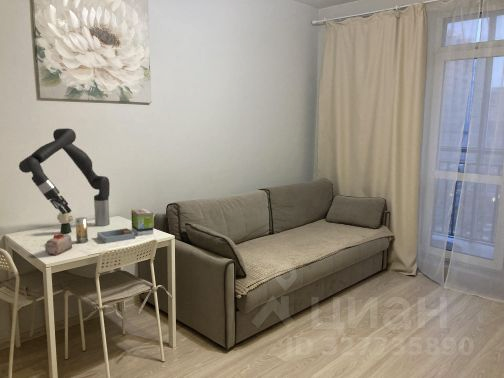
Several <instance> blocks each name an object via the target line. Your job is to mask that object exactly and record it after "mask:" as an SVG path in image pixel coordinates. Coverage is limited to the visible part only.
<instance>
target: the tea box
mask: <svg viewBox="0 0 504 378" xmlns="http://www.w3.org/2000/svg"><path fill="white" fill-rule="evenodd" d="M130 213H131V214H130V215H131V231H132V232H134V233H135V236H136V235H137V237H143V236H151V235H154V212H152V211H151V210H149V209H148V208H146V207H145V208H138V209H137V208H134V209H131V212H130Z"/></svg>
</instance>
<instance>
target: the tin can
mask: <svg viewBox="0 0 504 378" xmlns="http://www.w3.org/2000/svg"><path fill="white" fill-rule="evenodd" d="M75 238H76V243H77V244H86V243H88V242H89V240H88V238H89V237H88V220H87V217H77V218H76V217H75Z"/></svg>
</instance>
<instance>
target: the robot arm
mask: <svg viewBox="0 0 504 378" xmlns="http://www.w3.org/2000/svg"><path fill="white" fill-rule="evenodd" d="M76 135H77V134H76V132H75V130H74V129H72V128H67V127H66V128H56V129H55V130H54V131H53V141H51V142H48V143H46V144H44V145H42V146H40V147H39V148H37V149H36V150H35V151H34V152H33V153H31V154H30V155H29V156H27V157H25V158H24V159H22V160H21V161H20V162H19V164H18V167H19V170H20V171H21V172H22V173H25V174H28V173H31V174H32V176H31V181H32V182H33V183H34V184H35V186H36V187H37V188H38V189H39V191H40V193H41V194H42V195H43V196H44V198H45V199H46V200H48V201H49V202H50V203H51V204H52V206H53V208H55V210H58V211H59V213H60V212H61V213H62V214H65V213H66V211H67V213H70V212H71V213H72V209H71V208H70V206H69V203H68V201H67V200H66V199H65V198H64V197H63V195H60V196H59V194H60V190H59V189H58V188H57V187H56V186H55V184H54V183H53V182H52V181H51V180H50V178H49V177H48V176H47V175H46V173H44V170H43V168H42V165H41V164H42V163H44V162H45V161H47V160H48V159H49V158H50V157H51V156H53V155H54V154H55V153H57V152H58V151H60V150H63V151H64V152H65V154H66V155H68V157H69V158H70V159H71V160H72V161H73V163H74V164H75V166H76V167H77V168H78V169H79V171H80V172H81V173H82V175H83V176H84V177H85V179H86V181H87V182H88V184H89V185H90V187H91V188H92V189H94V190H98V193H97V194H95V195H94V196H93V205H94V223H95V226H96V227H104V226H105V227H106V226H108V225H110V204H109V203H110V201H109V197H110V187H111V185H110V179H109V178H108V177H107V176H103V175H97V174H96V173H95V171H94V169H93V161H92V159H91V158H90V157H89V155H88V154H87V152H86V151H84V150H83V149H81V148H79V147H78V146H76V145H75V144H73V143H74V142H75V141H76V139H77V136H76Z"/></svg>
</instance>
